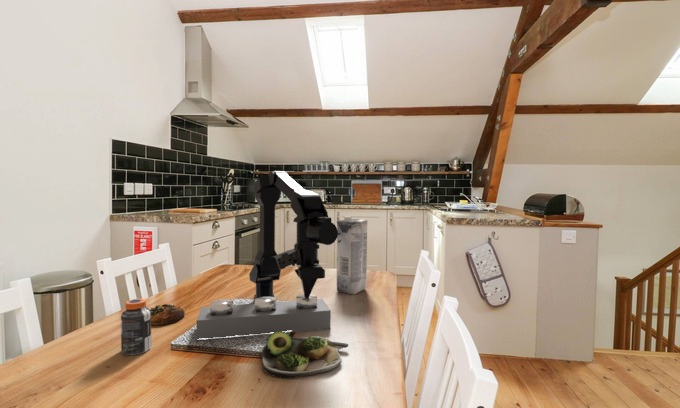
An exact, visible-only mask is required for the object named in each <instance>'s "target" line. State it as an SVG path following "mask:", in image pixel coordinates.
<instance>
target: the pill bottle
mask: <svg viewBox="0 0 680 408" xmlns="http://www.w3.org/2000/svg"><path fill="white" fill-rule="evenodd" d="M150 309H151V308H148V307H147V300H146V299H145V298H134V299H130V300H127V301H126V302H125V310H124V311H122V313H121V314H120V340H121V341H120V345H121V346H120V347H121V349H120V351H121V354H123V355H125V356H136V355H140V354H143V353H146V352H148V351H149V350H150V349H151V348H152V325H151V311H150Z"/></svg>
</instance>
